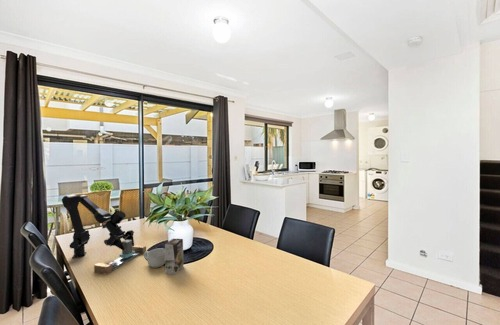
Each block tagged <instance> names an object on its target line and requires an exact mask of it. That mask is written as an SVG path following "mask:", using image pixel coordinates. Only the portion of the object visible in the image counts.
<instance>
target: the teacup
mask: <svg viewBox="0 0 500 325" xmlns="http://www.w3.org/2000/svg"><path fill="white" fill-rule="evenodd" d="M143 257H144V259H146V261H147V264H148V266H149V267H151V268H153V269H155V268H161V267H162V266H163V265H164V266H165V247H164V248H162V247H161V248H159V247H157V248H154V249H151V250H149V251H148V250H146V252H144V254H143Z"/></svg>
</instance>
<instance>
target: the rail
mask: <svg viewBox="0 0 500 325" xmlns="http://www.w3.org/2000/svg"><path fill="white" fill-rule="evenodd" d="M132 251H135V254H133V255H131V256H130V257H128V258H121V257H120V256H119V257H118V258H117V259H114V260H113V261H111V262H109V263H105V262H97V263H95V264H93V265H94V266H93V269H94V270H93V272H94V273H95V274H97V273H98V274H103V275H109V274H110V273H113V271H114V270H116V269H118V268H120V267H121V266H123V265H124V264H126V263H129V261H132V260H133V259H135V258H137V257H139V256H141V255H144V252H146V251H147V246H146V245H140V244H134V246H132Z"/></svg>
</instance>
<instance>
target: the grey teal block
mask: <svg viewBox="0 0 500 325" xmlns="http://www.w3.org/2000/svg"><path fill="white" fill-rule="evenodd" d="M121 242H122V244H123V246H124V250H122V249H121V253H120V254H119V258H120V257H121V258H128V257H130V256H131V255H133V254H135V251H132V240H125V239H124V240H122V241H121Z"/></svg>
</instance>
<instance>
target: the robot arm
mask: <svg viewBox="0 0 500 325" xmlns="http://www.w3.org/2000/svg"><path fill="white" fill-rule="evenodd" d="M61 203H62V205H63V207H64V208H65V209H66V210H68V214H69V217H70V221H71V224H72V228H73V231H74V233H73V235H72V240H73V241H72V242H71V243H69V248H70V249H73V255H72V256H71V258H72V259H73V258H81V257H85V256H86V255H87V251H86V249H85V248H86V247H85V245H87V244H88V243H89V241H90V238H91V234H90V231H89V230H88V229H87V230H86V229H85V227H84V224H83V222H82V218H81V215H80V211H79V208H78V207H79V203H80V204H81V205H83V207H84V208H86V209H87V210H88V211H89V212H90V213H91V214H92V215H93V218H94V220H96V221H97V222H96V223H98V224H102V229H107V230H108V232H109V233H108V235H109V237H108V238H106V239H104V241H103V243H104V245H105V246H106V247H107V246H109V247H113V246H114V247H117V248H118V249H120V250H121V251H122V250H124V246H123V244H122V242H123V241H122V239H123V240H124V241H125V240H132V246H134V245H135V240H134V233H135V232H134V231H133V229H130V230H127V231H125V230H122V226H120V225H119V224H120V223H122V221H123V220H124V219H125V218H126V216H127V215H126V213H125V212H124V211H121V210H119V209H117V210H115V211H114V212H113V213H110V212H109V211H107V210H106V209H102V208H100V207H99V206H98V204H96V203H95V202H94V201H92V199H90V197H88V195H86V194H83V195H81V194H79V195H77V194H68V195H65V196H63V197H62V199H61Z"/></svg>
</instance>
